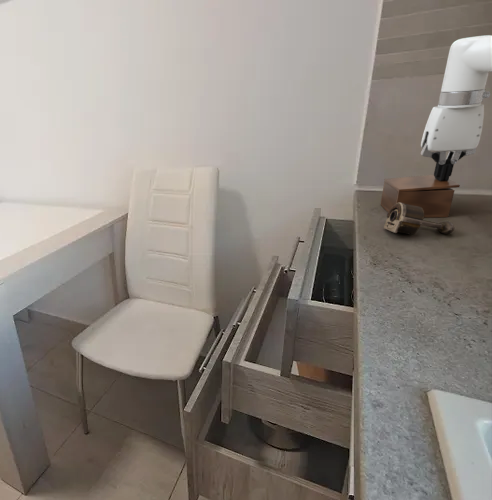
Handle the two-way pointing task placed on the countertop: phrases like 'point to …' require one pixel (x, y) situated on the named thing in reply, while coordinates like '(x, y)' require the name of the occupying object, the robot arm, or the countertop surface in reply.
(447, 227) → the security camera
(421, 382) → the countertop surface
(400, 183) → the lid
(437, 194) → the keepsake box
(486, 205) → the countertop surface
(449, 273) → the countertop surface
